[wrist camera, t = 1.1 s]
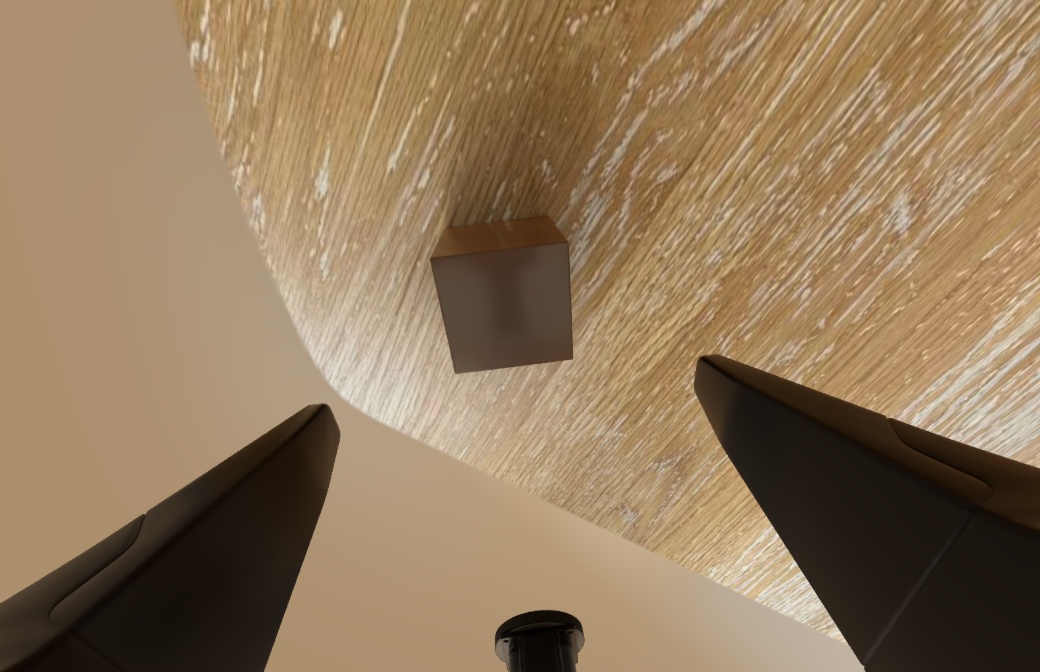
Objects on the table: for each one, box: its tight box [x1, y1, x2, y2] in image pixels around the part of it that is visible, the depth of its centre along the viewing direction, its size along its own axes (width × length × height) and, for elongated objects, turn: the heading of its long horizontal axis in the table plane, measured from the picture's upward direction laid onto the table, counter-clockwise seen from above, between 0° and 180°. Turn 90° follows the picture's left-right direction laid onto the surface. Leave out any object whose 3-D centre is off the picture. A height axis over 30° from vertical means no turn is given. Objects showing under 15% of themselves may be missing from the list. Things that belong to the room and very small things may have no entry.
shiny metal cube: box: [430, 216, 573, 374], centre depth 15 cm, size 4×4×4 cm
